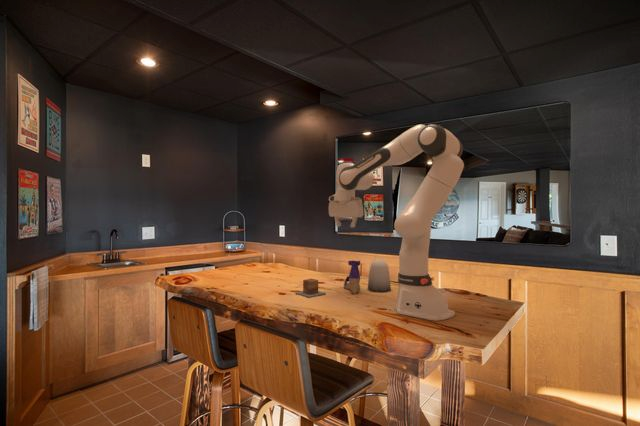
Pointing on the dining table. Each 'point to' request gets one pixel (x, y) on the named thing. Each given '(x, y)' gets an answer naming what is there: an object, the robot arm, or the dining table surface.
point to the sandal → (353, 277)
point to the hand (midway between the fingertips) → (345, 226)
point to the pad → (310, 295)
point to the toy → (379, 276)
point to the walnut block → (310, 286)
